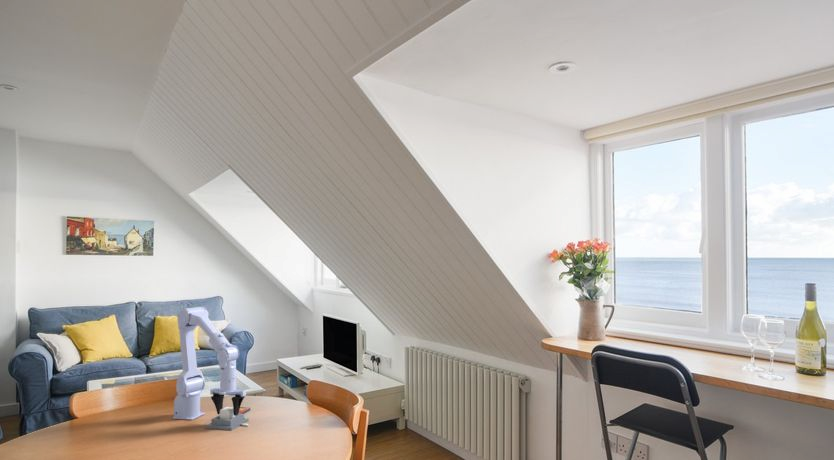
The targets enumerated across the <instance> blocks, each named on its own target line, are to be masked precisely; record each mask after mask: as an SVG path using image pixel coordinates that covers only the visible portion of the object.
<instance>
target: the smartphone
mask: <svg viewBox="0 0 834 460" xmlns="http://www.w3.org/2000/svg"><path fill="white" fill-rule="evenodd" d="M249 411H251V407H243V406H242V407H241V406H240V409H239V413H240V414H244V415H245V414H246V413H249Z"/></svg>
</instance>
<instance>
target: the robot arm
mask: <svg viewBox="0 0 834 460" xmlns="http://www.w3.org/2000/svg"><path fill="white" fill-rule="evenodd" d="M176 316H177V326H178V327H177V328H178V330H179V331H178V332H179V340H180V341H179V344H180V354H181V355H180V356H181V364H182V367H181V368H182V371H181V372H180V373H179V374H178V376H177V377H176V385H175V390H176V393H177V395H176V396H175V398H174V400H173V416H172V419H175V420H176V419H178V420H188V421H190V420H191V421H192V420H195V419H197V418H200V417H201V416H204V415H205V414H206V412H203V411H201V394H202V393H203V390H204V389H205V387H206V379H205V378H204V375H203V371H202V370H200V369H199V368H198V362H197V354H196V352H197V351H196V343H195V342H196V341H195V333H194V332H195V329H196V328H197V327H200V328H201V330H202V331H203V332H204V333H205V334H206V335H207V337H208V338H209V339H208V344H210V346H211V347H212V348H213V350H214V351H215V352H216V353H217V355H216V360H217V362H218V366H219V368H220V370H219V371H220V376H219V377H220V378H219V381H220V382H219V388H218V387H215V388H214V387H213V388H211V389H209V390H210V392H209V395H211V397H210V400H212V403H213V405H214V406H215V410H216V414H217V415H220V410H221V409H223V408H224V407H223V406H224V405H223V404H224V398H225V396H232V397H231V401H232V407H233V414H234V415H237V414H238V413H239V409H240V407H241V406H242V403H243V401H244V398H246V397H245V396H247V390H246V389H240V388H237V360H238V359H239V358H240V353H241V352H240V350H239V347H238V346H237V345H235V344H232V343H230V341H229V340H228V339H227V338H226V336H225V334H224V333H223V332H218V331H217V329H216V328H215V326H214V325H213V323H212V321H211V320H210V318H209V311H208V310H207V308H206V307H205V306H201V305H200V306H195V307H187V308H181V309H180V310H179V311H178V313H177V315H176Z"/></svg>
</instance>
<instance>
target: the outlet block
mask: <svg viewBox="0 0 834 460" xmlns="http://www.w3.org/2000/svg"><path fill="white" fill-rule="evenodd" d="M210 421H211V422H210V423H207V424H206V425H205V426H206V427H205V428H206V429H211V430H223V431H232V430H235V429H237V428H238V427H240V426H243V427H248V426H249V423H247V422H249V421H250V418H249V417H245V414H240V413H238V414H237V415H235V417H234V418H232V419H220V414H218V415H217V416H215V417H213V418H211V420H210Z"/></svg>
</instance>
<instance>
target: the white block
mask: <svg viewBox="0 0 834 460" xmlns="http://www.w3.org/2000/svg"><path fill="white" fill-rule="evenodd" d="M219 415H220V419H232V418H234V417H235V415H234V414H233V406H232V407H231V406H225V407H223V409H221V410H220V414H219Z"/></svg>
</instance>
